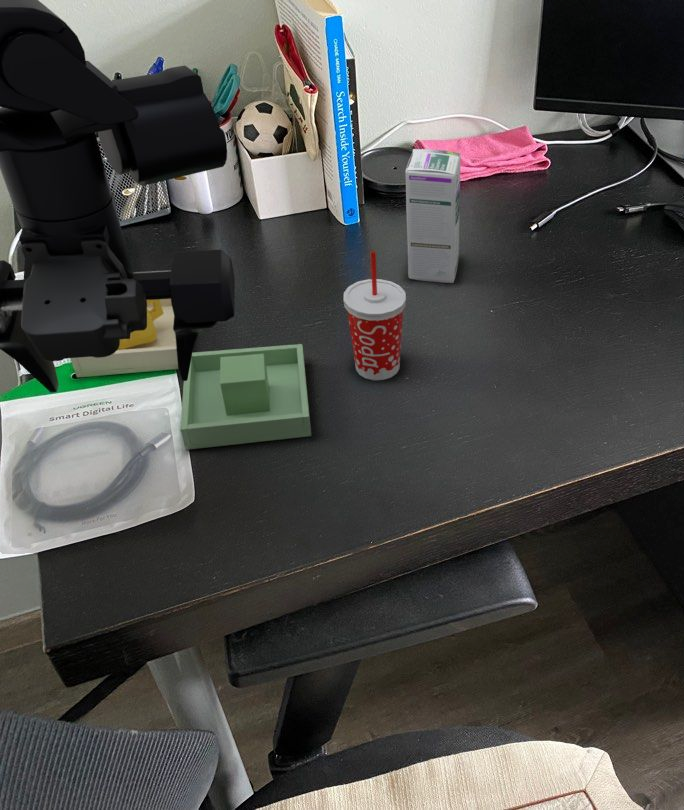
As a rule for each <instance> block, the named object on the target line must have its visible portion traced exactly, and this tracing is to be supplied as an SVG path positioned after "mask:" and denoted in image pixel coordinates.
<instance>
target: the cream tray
mask: <svg viewBox="0 0 684 810" xmlns="http://www.w3.org/2000/svg"><path fill="white" fill-rule="evenodd" d="M159 300H160V303H161V307H162V310H163V313H164V314H163V315H161V316H160V317H158V318H157V319H156V320H154V321H153V323H154V326H155V329H156V334H157V339H156V340H154V341H153V342H152V343H149V344H145V343H143V344H140V345H136V346H132V347H128V348H127V349H126V350H117V351H116V352H115V353H114V354H112V355H110V356H107V357H101V358H95V357H79V358H69V360H70V362H71V364H72V365H71V366H72V368H73V370H74V373H75V376H76V378H88V377H90V378H91V377H100V376H101V377H102V376H112V375H122V374H125V375H126V374H134V373H135V374H136V373H147V372H148V373H149V372H158V371H159V372H160V371H161V372H162V371H172V370H178V361H177V349H176V336H175V332H174V330H173V323H174V312H173V308H172V304H171V299H159ZM147 307H148V310H149V311H150V310H152V309H153V308H154V307H153V303H151V304H147Z"/></svg>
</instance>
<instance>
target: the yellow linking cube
mask: <svg viewBox="0 0 684 810" xmlns="http://www.w3.org/2000/svg"><path fill="white" fill-rule="evenodd" d="M151 303H153V307H154V308H153V309H152V310H150V311H149V310H148V307H147V328H146V329H145V330H141V331H134V332H132V333H131V334H130V339H120V345H119V348H118V350H126V349H127V348H128V347H132V346H136V345H140V344H143V343H145V344H149V343H152V342H153V341H154V340H156V339H157V334H156V329H155V326H154V323H153V321H154V320H156V319H157V318H158V317H160V316H161V315H163V314H164V313H163V310H162V307H161V303H160V300H159V299H157V300H147V304H151Z"/></svg>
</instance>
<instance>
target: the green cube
mask: <svg viewBox="0 0 684 810" xmlns="http://www.w3.org/2000/svg"><path fill="white" fill-rule="evenodd" d="M220 386H221V391H222V396H223V401H224V405H225V410H226V414H227V415H233V414H243V413H252V412H262V411H270V396H269V382H268V375H267V369H266V362H265V356H264V354H254V355H241V356H229V357H221V358H220Z"/></svg>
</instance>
